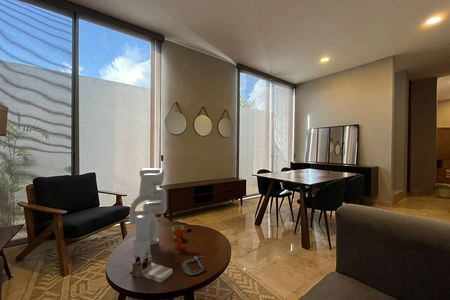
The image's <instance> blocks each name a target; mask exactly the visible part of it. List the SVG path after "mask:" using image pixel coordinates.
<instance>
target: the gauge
mask: <svg viewBox="0 0 450 300" xmlns="http://www.w3.org/2000/svg"><path fill="white" fill-rule="evenodd" d="M145 259H146V257H145ZM143 262H144V261H143V258H141V260H139V261H137V262H136V261H135V262H134V263H132V265H131V266H132V272H131V275H132V276H134V277H136V278H140V277H142V276H141V271H143V270H144V269H143ZM151 263H152V257H151V258H150V259H149V260H148V266H147V267H146V268H148V267H149V266H151ZM146 268H145V269H146Z"/></svg>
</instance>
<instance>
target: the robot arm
mask: <svg viewBox="0 0 450 300" xmlns="http://www.w3.org/2000/svg"><path fill="white" fill-rule="evenodd" d="M139 176H140V184H139V194H138V196H137V197H136V198H135V199H134V200H133V201H132V202H131V205H130V207H129V213H128V214H129V215H128V216H129V217H128V222H129V223H130V224H131V225H134V237H133V242H132V251H131V252H132V255H133V256H134V260H135V262H137V261H139V260H141V259H142V258H143V261H144V262H143V269H145V268H146V267H147V266H148V260H149V259H150V258H151V259H152V254H151V246H154V245H157V244H158V243H160V240H159V238H158V218H157V216H156V215H158V214H159V215H160V214H162V215H163V214H165V213H166V211H167V190H166V189H165V188H163V187H159V186H162V185H163V183H164V180H165V179H164V178H165V171H164V169H163V168H142V169H140V170H139ZM145 201H146V202H145ZM143 202H144V204H143V206H142V210H140V211H139V210H138V211H136V208H137V207H138V206H139V205H140V204H141V203H143ZM145 257H146V259H145Z"/></svg>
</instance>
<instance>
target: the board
mask: <svg viewBox="0 0 450 300" xmlns="http://www.w3.org/2000/svg"><path fill="white" fill-rule="evenodd" d="M173 271H174V270H173V268H169V267H167V266H164V265H161V264H157V263H154V262H151V266H149V267H148V268H146V269H144V270H143V271H141V276H140V277H143V278H147V279H148V280H149V279H150V280H152V281H155V282H157V283H163V282H164V281H165V280H166V279H168V278H169V277H170V276H171V275H172V274H173ZM129 272H130V273H132V265H131V266H130V267H129Z"/></svg>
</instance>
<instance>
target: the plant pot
mask: <svg viewBox="0 0 450 300" xmlns="http://www.w3.org/2000/svg"><path fill="white" fill-rule="evenodd" d="M177 228H179V229H183V228H185V227H184V226H183V225H174V226H172V227H171V230H172V234H173V239H175V240H177V239H176V236H175V235H174V231H175V230H176V229H177Z"/></svg>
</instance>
